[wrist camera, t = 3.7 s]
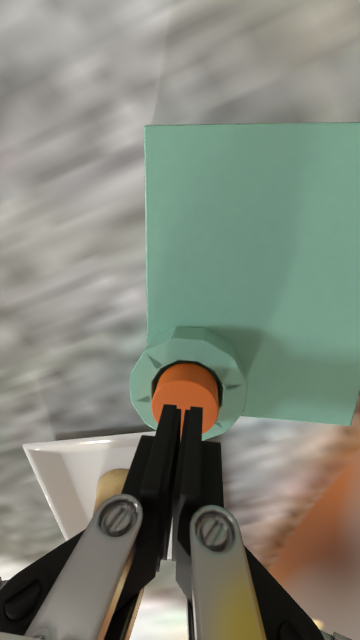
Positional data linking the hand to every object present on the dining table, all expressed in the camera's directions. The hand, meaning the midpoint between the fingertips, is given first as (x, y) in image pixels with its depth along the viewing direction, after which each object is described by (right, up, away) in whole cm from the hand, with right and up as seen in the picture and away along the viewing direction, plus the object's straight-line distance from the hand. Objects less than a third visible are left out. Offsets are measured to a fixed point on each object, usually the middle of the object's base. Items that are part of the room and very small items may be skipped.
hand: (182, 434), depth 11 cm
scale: (+4, +7, +4) cm, 8 cm away
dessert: (-4, -8, +9) cm, 13 cm away
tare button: (0, +1, +3) cm, 3 cm away
